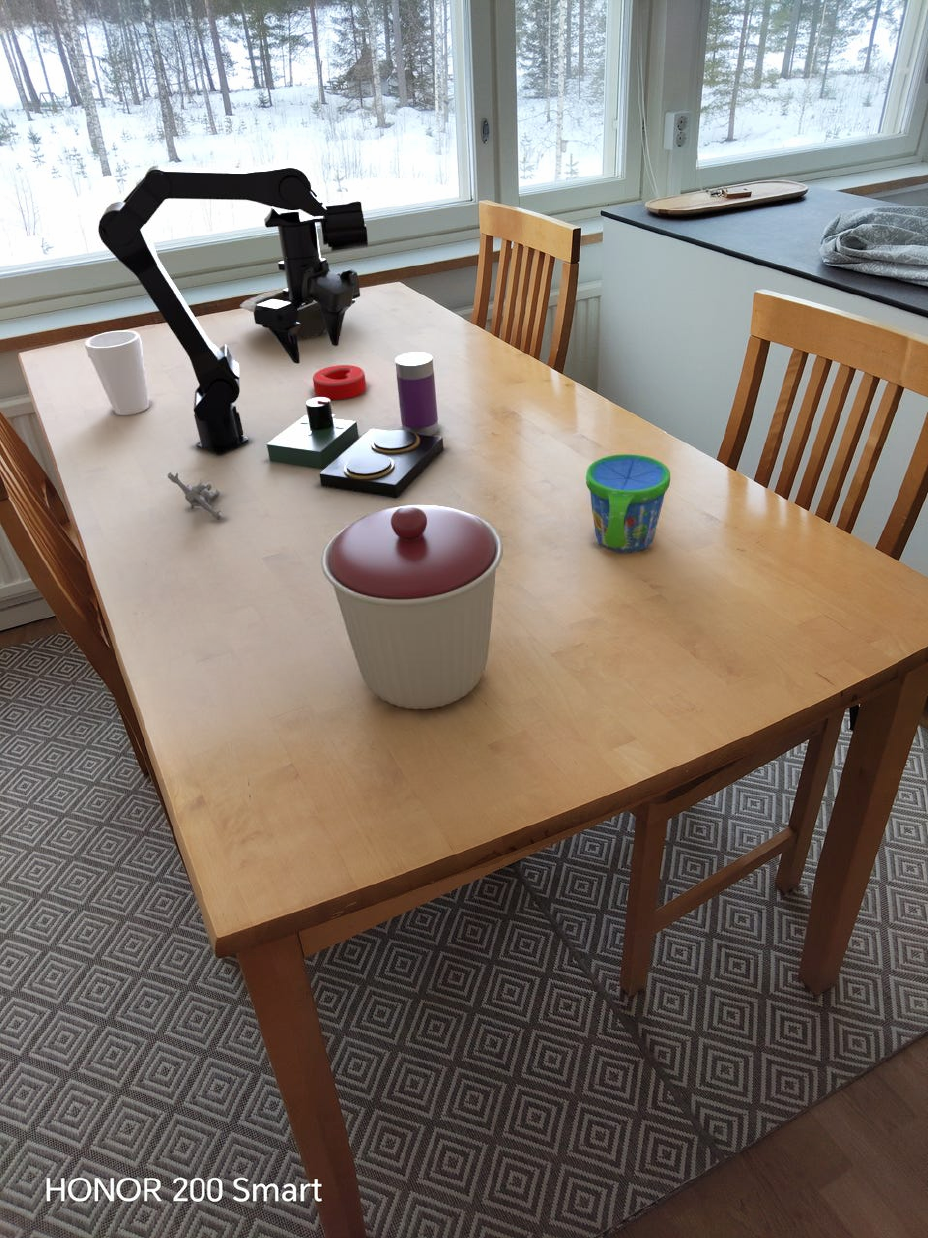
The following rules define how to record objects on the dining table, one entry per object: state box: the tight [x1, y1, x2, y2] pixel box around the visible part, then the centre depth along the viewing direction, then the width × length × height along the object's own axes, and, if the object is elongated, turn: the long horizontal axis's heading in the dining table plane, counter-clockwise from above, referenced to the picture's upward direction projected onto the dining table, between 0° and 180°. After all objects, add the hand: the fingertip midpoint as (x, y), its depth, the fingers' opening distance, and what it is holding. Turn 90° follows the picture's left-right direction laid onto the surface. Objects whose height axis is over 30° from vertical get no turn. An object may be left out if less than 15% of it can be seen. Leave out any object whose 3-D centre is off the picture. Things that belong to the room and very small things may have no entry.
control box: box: [266, 413, 360, 470], centre depth 149 cm, size 10×13×3 cm
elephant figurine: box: [167, 472, 224, 522], centre depth 133 cm, size 10×6×9 cm
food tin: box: [395, 351, 439, 436], centre depth 150 cm, size 6×6×12 cm
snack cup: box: [585, 453, 671, 554], centre depth 118 cm, size 16×10×10 cm
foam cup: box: [83, 329, 150, 416], centre depth 165 cm, size 10×9×13 cm
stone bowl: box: [239, 287, 327, 340], centre depth 200 cm, size 25×25×9 cm
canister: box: [320, 504, 504, 710], centre depth 94 cm, size 18×18×21 cm
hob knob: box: [305, 396, 334, 430], centre depth 149 cm, size 4×4×4 cm
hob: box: [318, 428, 445, 499], centre depth 142 cm, size 13×17×3 cm
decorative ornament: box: [312, 364, 367, 401], centre depth 169 cm, size 10×10×3 cm
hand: (316, 354), depth 148 cm, fingers open, 9 cm apart
